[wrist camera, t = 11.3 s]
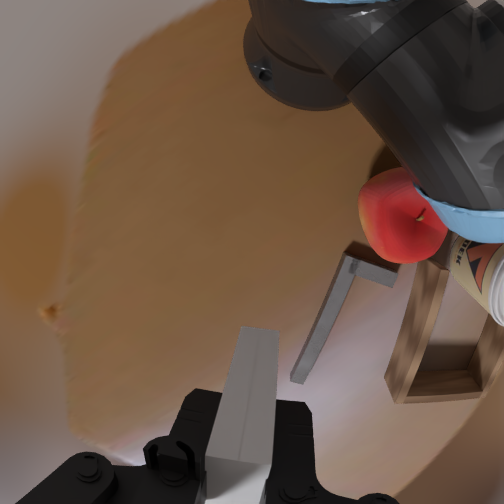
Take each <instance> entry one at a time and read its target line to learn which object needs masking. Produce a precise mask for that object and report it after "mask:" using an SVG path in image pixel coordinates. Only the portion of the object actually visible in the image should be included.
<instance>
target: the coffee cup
mask: <svg viewBox="0 0 504 504" xmlns="http://www.w3.org/2000/svg"><path fill="white" fill-rule="evenodd" d="M449 264H450V270H451V273H452V275H453V277H454V278H455V280H456V281H457V282H458V283H459V284H460V285H461V286H462V287H463V288H464V289H465V290H466V291H467V292H468V293H469V294H470V295H471V296H472V297H473V298H474V299H475V300H476V301H477V302H478V303H479V304H480V305H481V306H482V307H483V308H484V309H485V310H487V311H488V312H489V313H490V314H491V315H492V317H493V319H494V320H495V321H496V322H497V323H498V324H500V325H501V326H504V243H481V242H476V241H472V240H468V239H466V238H464V237H462V236H459V237H458V238H457V240H456V241H455V243H454V245H453V247H452V249H451V253H450V260H449Z"/></svg>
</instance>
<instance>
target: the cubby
mask: <svg viewBox="0 0 504 504" xmlns="http://www.w3.org/2000/svg"><path fill="white" fill-rule="evenodd" d="M449 272H450V271H449V270H448V269H446V268H445V267H444V266H442V265H441V264H439V263H438V262H436V261H435V260H433V259H432V258H430V257H429V258H427V259H425V260H422V261H419V262H418V266H417V270H416V274H415V278H414V283H413V286H412V290H411V294H410V298H409V302H408V305H407V309H406V312H405V316H404V319H403V322H402V326H401V329H400V332H399V335H398V338H397V342H396V345H395V348H394V351H393V353H392V356H391V359H390V362H389V365H388V368H387V370H386V373H385V376H384V379H385V381H386V383H387V386H388V388H389V391H390V393H391V396H392V398H393V401H394V403H395V404H406V403H428V402H443V401H455V400H465V399H474V398H483V397H485V396H486V394H487V392H488V390H489V389H490V387H491V385H492V383H493V381H494V379H495V377H496V375H497V373H498V370H499V368H500V366H501V364H502V362H503V360H504V326H501V325H500V324H498V323H497V322H496V321H495V320H494V319H493V317H492V315H491V314H490V313H489V314H488V317H487V320H486V323H485V326H484V328H483V331H482V334H481V336H480V339H479V342H478V344H477V347H476V349H475V351H474V354H473V356H472V359H471V361H470V363H469V365H468V368H467V370H445V371H417V370H418V367H419V365H420V362H421V360H422V357H423V355H424V352H425V349H426V346H427V344H428V341H429V338H430V335H431V332H432V329H433V327H434V323H435V320H436V317H437V314H438V311H439V308H440V304H441V301H442V298H443V294H444V291H445V287H446V283H447V280H448V276H449Z"/></svg>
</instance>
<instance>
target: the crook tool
mask: <svg viewBox="0 0 504 504" xmlns="http://www.w3.org/2000/svg"><path fill="white" fill-rule="evenodd" d="M355 275H356V276H359V277H362V278H365V279H368V280H371V281H374V282H377V283H380V284H383V285H385V286H388V287H391V288H393V285H394V283H395V281H396V279H397V276H398V273H397V272H396V271H395V270H394V269H391V268H388V267H386V266H383V265H380V264H377V263H374V262H372V261H369V260H366V259H363V258H361V257H358V256H355V255H352V254H349V253H346V252H343V255H342V257H341V260H340V262H339V265H338V267H337V270H336V272H335V275H334V277H333V279H332V282H331V284H330V287H329V289H328V292H327V294H326V296H325V299H324V301H323V303H322V306H321V308H320V310H319V313H318V315H317V317H316V319H315V322H314V324H313V326H312V328H311V331H310V333H309V335H308V337H307V339H306V342H305V344H304V346H303V348H302V350H301V352H300V355H299V357H298V359H297V361H296V363H295V365H294V367H293V369H292V371H291V373H290V381H291V382H295V383H299V384H304V382H305V380H306V378H307V376H308V374H309V372H310V370H311V368H312V366H313V364H314V362H315V360H316V358H317V356H318V354H319V352H320V350H321V348H322V346H323V344H324V342H325V340H326V338H327V336H328V334H329V332H330V330H331V327H332V325H333V323H334V321H335V319H336V317H337V314H338V312H339V310H340V308H341V306H342V303H343V301H344V299H345V297H346V294H347V292H348V290H349V287H350V285H351V283H352V280H353V278H354V276H355Z"/></svg>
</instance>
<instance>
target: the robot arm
mask: <svg viewBox="0 0 504 504" xmlns="http://www.w3.org/2000/svg"><path fill="white" fill-rule="evenodd" d="M248 1H249V5H250V9H251V13H252V17H251V19H250V21H249V23H248V25H247V27H246V30H245V34H244V41H243V48H244V55H245V59H246V62H247V65H248V68H249V70H250V72H251V74H252V76H253V78H254V79H255V81H256V82H257V83H258V85H259V86H260V87H261V88H262V89H263V90H264V91H265V92H266V93H268V94H269V95H270V96H272V97H273V98H274V99H276V100H278V101H280V102H282V103H284V104H286V105H288V106H291V107H294V108H298V109H302V110H309V111H326V110H332V109H336V108H340V107H342V106H345V105H347V104H349V103H351V102H352V103H353V105H354V106H355V107H356V108H357V109H358V110H359V111H360V113H361V114H362V115H363V116H364V117H365V119H366V120H367V121H368V122H369V123H370V125H371V126H372V127H373V128H374V129H375V131H376V132H377V133H378V134H379V136H380V137H381V138H382V140H383V141H384V142H385V143H386V145H387V146H388V147H389V149H390V150H391V151H392V153H393V154H394V155H395V157H396V158H397V159H398V161H399V162H400V163H401V165H402V166H403V168H404V169H405V170H406V172H407V173H408V175H409V176H410V178H411V179H412V182H413V186H414V187H415V189H416V190H417V192H418V193H419V194H420V195H421V196H422V197H423V198H425V199H426V200H427V201H428V202H429V203H430V205H431V206H432V208H433V209H434V211H435V212H436V214H437V215H438V216H439V218H440V219H441V221H442V222H443V223H444V224H445V225H446V226H447V227H448V228H449V229H450V230H451V231H454V232H456V233H457V234H459V235H460V236H462V237H464V238H466V239H468V240H472V241H476V242H481V243H504V0H488V1H486V2H484V3H483V4H482V5H480V6H479V7H477V8H473V7H472V6H471V5H470V4H469V3H468V2H467V1H466V0H248ZM278 353H279V331H277V330H269V329H261V328H254V327H246V326H241V330H240V333H239V337H238V340H237V344H236V348H235V351H234V355H233V358H232V362H231V366H230V369H229V373H228V376H227V380H226V383H225V387H224V390H223V393H220V392H214V391H208V390H203V389H197V388H195V389H194V390H193V391H192V392H191V393H189V394H188V395H187V396H186V397H185V399H184V401H183V403H182V406H181V409H180V410H179V413H178V415H177V419H176V420H175V422H174V424H173V427H172V429H171V431H170V434H169V436H168V435H167V436H162V437H157V438H155V439H153V440H151V441H149V442H148V443H147V444H146V446H145V447H144V448H143V452H144V456H145V461H146V464H145V465H142V466H117V465H112V464H111V462H110V461H109V460H108V459H106V458H105V457H104V456H102V455H100V454H98V453H94V452H82V453H77V454H75V455H74V456H72V457H70V458H69V459H68V460H66V461H65V462H64V463H63V464H62V465H61V466H59V467H58V468H57V469H56V470H55V471H54V472H52V473H51V474H50V475H49V476H48V477H47V478H45V479H44V480H43V481H42V482H41V483H39V484H38V485H37V486H36V487H35V488H33V489H32V490H31V491H30V492H29V493H28V494H26V495H25V496H24V497H23V498H22V499H20V500H19V501H18V502H17V503H15V504H399V503H398V502H397V500H396V499H394V498H392V497H391V496H389V495H386V494H381V493H373V494H367V495H365V496H363V497H361V498H359V500H355V499H350V498H346V497H342V496H338V495H335V494H333V493H330V492H329V491H327V490H326V489H324V488H323V487H322V486H321V484H320V483H319V481H318V479H317V477H316V471H315V453H314V437H313V427H312V426H313V423H312V413H311V411H310V410H309V408H308V406H307V405H306V403H305V402H298V401H287V400H277V399H276V391H277V373H278Z"/></svg>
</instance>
